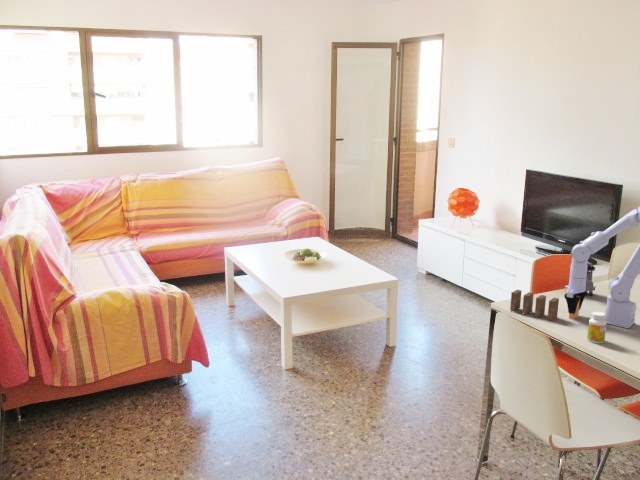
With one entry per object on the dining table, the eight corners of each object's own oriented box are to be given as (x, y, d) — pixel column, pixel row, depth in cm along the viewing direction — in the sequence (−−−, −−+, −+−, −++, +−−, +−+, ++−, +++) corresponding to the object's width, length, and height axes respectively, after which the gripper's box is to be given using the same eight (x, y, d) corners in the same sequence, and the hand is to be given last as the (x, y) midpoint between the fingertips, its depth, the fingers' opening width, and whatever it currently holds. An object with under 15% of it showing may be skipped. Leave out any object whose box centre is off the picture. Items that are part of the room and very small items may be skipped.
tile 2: (557, 317, 225) (559, 298, 224) (552, 321, 222) (554, 301, 220) (552, 316, 226) (554, 297, 225) (547, 320, 223) (549, 300, 221)
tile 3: (544, 314, 228) (546, 295, 227) (539, 318, 225) (541, 299, 223) (539, 313, 229) (541, 294, 228) (534, 317, 226) (536, 298, 224)
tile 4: (531, 311, 231) (533, 293, 230) (526, 315, 228) (528, 296, 226) (527, 310, 233) (529, 292, 231) (522, 314, 229) (523, 295, 227)
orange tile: (578, 315, 227) (580, 296, 226) (573, 319, 224) (575, 300, 222) (573, 314, 229) (575, 295, 227) (568, 318, 225) (570, 299, 223)
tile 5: (519, 308, 234) (521, 290, 233) (514, 312, 231) (516, 293, 229) (515, 307, 236) (517, 289, 234) (510, 311, 232) (511, 292, 230)
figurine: (570, 298, 248) (573, 262, 244) (569, 290, 258) (572, 256, 255) (594, 300, 244) (598, 265, 241) (592, 292, 255) (596, 258, 252)
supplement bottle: (583, 338, 205) (586, 311, 203) (595, 336, 207) (598, 310, 205) (595, 344, 201) (598, 317, 198) (608, 342, 202) (611, 315, 200)
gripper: (573, 270, 230) (570, 304, 234) (560, 278, 220) (556, 313, 223) (592, 273, 226) (589, 308, 229) (579, 282, 215) (576, 318, 218)
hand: (574, 311), depth 226 cm, fingers closed on orange tile, 5 cm apart
